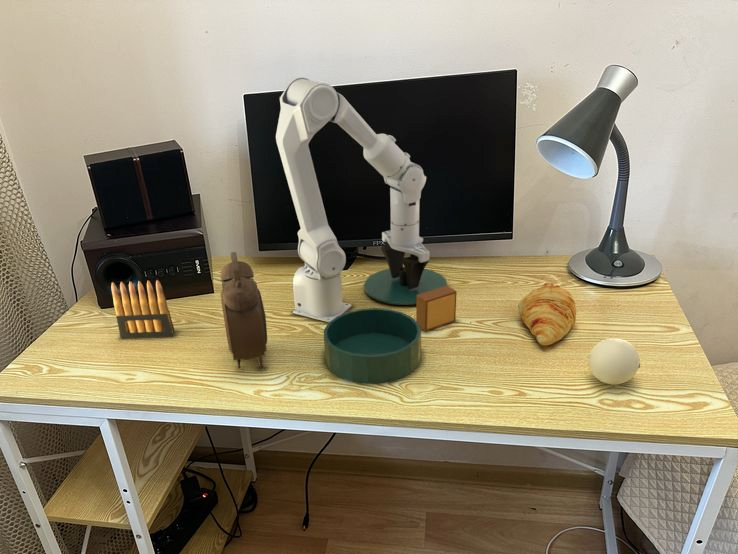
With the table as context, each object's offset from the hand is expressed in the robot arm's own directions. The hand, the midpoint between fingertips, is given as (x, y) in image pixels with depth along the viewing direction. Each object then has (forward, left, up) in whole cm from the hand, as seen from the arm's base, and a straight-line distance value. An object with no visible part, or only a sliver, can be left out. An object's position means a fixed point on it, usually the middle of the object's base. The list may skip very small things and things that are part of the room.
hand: (404, 282), depth 135 cm
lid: (0, 0, -1) cm, 1 cm away
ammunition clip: (-37, -40, -2) cm, 54 cm away
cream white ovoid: (+44, -15, -2) cm, 47 cm away
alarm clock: (-13, -37, -2) cm, 39 cm away
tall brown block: (+12, -11, -2) cm, 16 cm away
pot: (+7, -27, -2) cm, 28 cm away
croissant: (+30, -2, -2) cm, 30 cm away
